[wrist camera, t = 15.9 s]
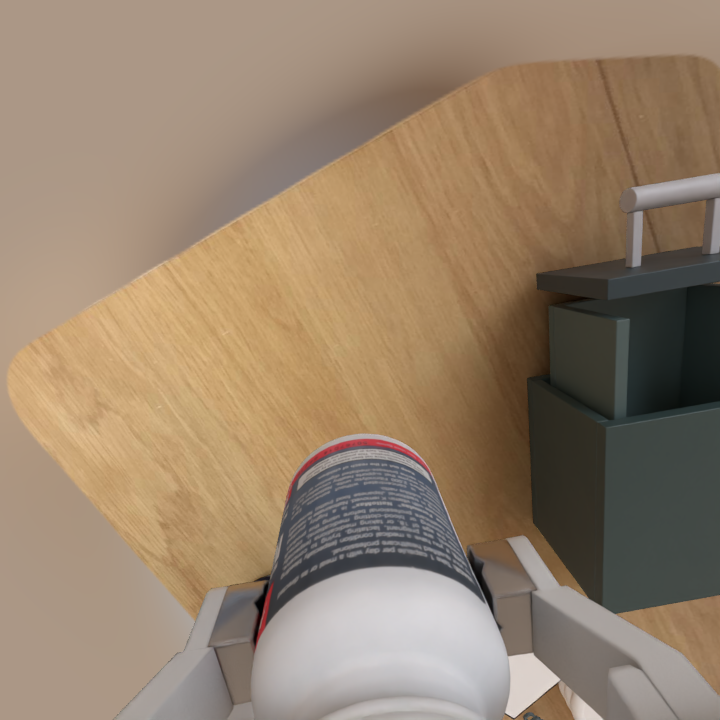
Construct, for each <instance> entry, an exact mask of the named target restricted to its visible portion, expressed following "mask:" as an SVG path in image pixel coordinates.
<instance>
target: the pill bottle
mask: <svg viewBox="0 0 720 720" xmlns="http://www.w3.org/2000/svg"><path fill="white" fill-rule="evenodd" d="M510 678H511V677H510V667H509V660H508V655H507V651H506V648H505V645H504V642H503V639H502V636H501V634H500V631H499V629H498V626H497V624H496V622H495V619H494V617H493V615H492V613H491V610H490V608H489V606H488V604H487V602H486V599H485V597H484V595H483V593H482V591H481V588H480V586H479V584H478V582H477V579H476V577H475V575H474V573H473V571H472V568H471V566H470V564H469V562H468V559H467V557H466V555H465V553H464V550H463V548H462V546H461V543H460V541H459V539H458V536H457V534H456V531H455V529H454V526H453V524H452V521H451V519H450V517H449V514H448V512H447V509H446V507H445V504H444V502H443V499H442V497H441V494H440V492H439V489H438V487H437V484H436V481H435V479H434V477H433V475H432V473H431V471H430V469H429V467H428V466H427V464H426V463H425V461H424V460H423V459H422V458H421V457H420V455H418V454H417V453H416V452H415V451H414V450H413V449H412V448H410V447H409V446H407V445H406V444H404V443H402V442H400V441H398V440H396V439H393V438H390V437H387V436H383V435H377V434H354V435H348V436H344V437H340V438H337V439H334V440H332V441H330V442H328V443H326V444H324V445H322V446H321V447H319V448H318V449H316V450H315V451H313V452H312V453H311V454H310V455H309V456H308V457H307V458H306V459H305V460H304V461H303V462H302V463H301V465H300V466H299V467H298V469H297V470H296V472H295V474H294V476H293V478H292V480H291V483H290V486H289V489H288V494H287V497H286V501H285V508H284V512H283V517H282V523H281V527H280V532H279V537H278V542H277V547H276V552H275V556H274V561H273V567H272V571H271V576H270V581H269V586H268V590H267V594H266V599H265V604H264V609H263V614H262V618H261V623H260V627H259V632H258V636H257V642H256V647H255V652H254V659H253V667H252V675H251V701H252V708H253V712H254V716H255V720H502V719H503V717H504V714H505V711H506V707H507V703H508V699H509V694H510Z"/></svg>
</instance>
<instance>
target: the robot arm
mask: <svg viewBox="0 0 720 720" xmlns="http://www.w3.org/2000/svg"><path fill="white" fill-rule="evenodd" d="M467 558H468V560H469V563H470V565H471V568H472V571H473V573H474V575H475V577H476V579H477V582H478V584H479V586H480V588H481V591H482V593H483V595H484V597H485V599H486V602H487V604H488V606H489V608H490V610H491V613H492V615H493V617H494V619H495V622H496V624H497V626H498V629H499V631H500V634H501V636H502V639H503V642H504V645H505V648H506V651H507V655H508V656H514V655H521V654H528V653H534V656H535V657H536V658H538V659H539V660H540V661H541V662H542V663H543V664H544V665H545V666H546V667H547V668H548V669H549V670H551V671H552V672H553V673H554V674H555V675H556V676H557V677H558V678H559V679H560V680H561V681H563V682H564V683H565V684H566V685H567V686H568V687H569V688H570V689H571V690H572V691H573V692H574V693H576V694H577V695H578V696H579V697H580V698H581V699H582V700H583V701H584V702H585V703H586V704H588V705H589V706H590V707H591V708H592V709H593V710H594V711H595V712H596V713H597V714H598V715H599V716H601V717H602V718H603V719H604V720H720V696H719V695H718V694H717V693H716V692H715V691H714V689H713V688H712V687H711V686H710V685H709V684H708V683H707V681H706V680H705V679H704V678H703V677H702V676H701V675H700V673H699V672H698V671H697V670H696V669H695V668H694V667H693V665H692V664H691V663H690V662H689V661H688V660H687V658H686V657H685V656H684V655H683V654H682V653H680V652H679V651H677V650H675V649H674V648H672V647H670V646H668V645H667V644H665V643H663V642H662V641H660V640H658V639H657V638H655V637H653V636H651V635H650V634H648V633H646V632H645V631H643V630H641V629H640V628H638V627H636V626H634V625H633V624H631V623H629V622H628V621H626V620H624V619H623V618H621V617H619V616H617V615H616V614H614V613H612V612H611V611H609V610H607V609H606V608H604V607H602V606H600V605H599V604H597V603H595V602H594V601H592V600H590V599H589V598H587V597H585V596H583V595H582V594H580V593H578V592H577V591H575V590H573V589H572V588H570V587H568V586H560V585H559V584H558V582H557V581H556V579H555V578H554V576H553V575H552V573H551V572H550V570H549V569H548V568H547V566H546V565H545V563H544V562H543V560H542V559H541V557H540V556H539V554H538V553H537V552H536V550H535V549H534V547H533V546H532V544H531V543H530V541H529V540H528V538H527V537H525V536H524V535H521V536H516V537H511V538H505V539H500V540H495V541H489V542H484V543H478V544H473V545H467ZM268 586H269V581H268V580H263V581H256V582H249V583H242V584H235V585H230V586H225V587H218V588H211V589H210V590H209V591H208V592H207V594H206V596H205V598H204V601H203V603H202V606H201V608H200V611H199V613H198V616H197V618H196V621H195V623H194V626H193V629H192V631H191V634H190V637H189V639H188V641H187V644H186V647H185V649H184V651H183V652H179V653H177V654H176V655H175V656H174V657H173V658H172V659H171V660H170V661H169V662H168V663H167V664H166V665H165V666H164V667H163V668H162V669H161V670H160V671H159V672H158V673H157V674H156V675H155V676H154V677H153V679H152V680H151V681H150V682H149V683H148V684H147V685H146V686H145V687H144V688H143V689H142V690H141V691H140V692H139V693H138V694H137V695H136V696H135V697H134V698H133V699H132V700H131V701H130V703H128V705H126V707H125V708H124V709H123V710H122V711H121V712H120V713H119V714H118V715H117V716H116V717H115V718H114V719H113V720H227V718H228V717H229V715H230V714H231V712H232V710H233V709H234V706H233V705H238V704H243V703H248V702H252V701H251V675H252V667H253V659H254V652H255V647H256V642H257V636H258V632H259V627H260V623H261V618H262V614H263V609H264V604H265V599H266V594H267V590H268Z"/></svg>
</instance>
